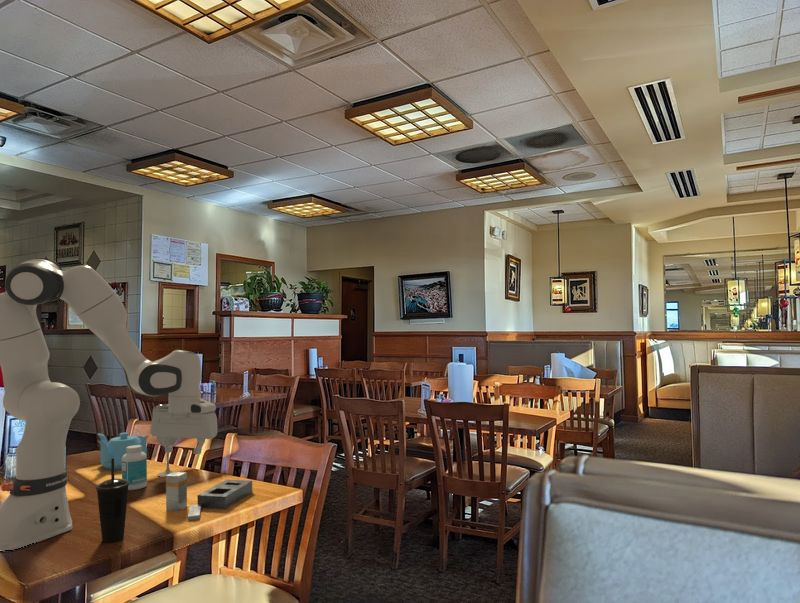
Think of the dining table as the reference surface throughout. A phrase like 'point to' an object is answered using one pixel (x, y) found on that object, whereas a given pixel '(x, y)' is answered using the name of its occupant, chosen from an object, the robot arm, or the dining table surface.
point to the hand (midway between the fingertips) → (182, 453)
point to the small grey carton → (176, 491)
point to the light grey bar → (194, 512)
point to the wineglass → (168, 471)
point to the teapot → (118, 448)
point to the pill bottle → (134, 467)
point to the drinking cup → (112, 507)
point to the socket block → (225, 494)
